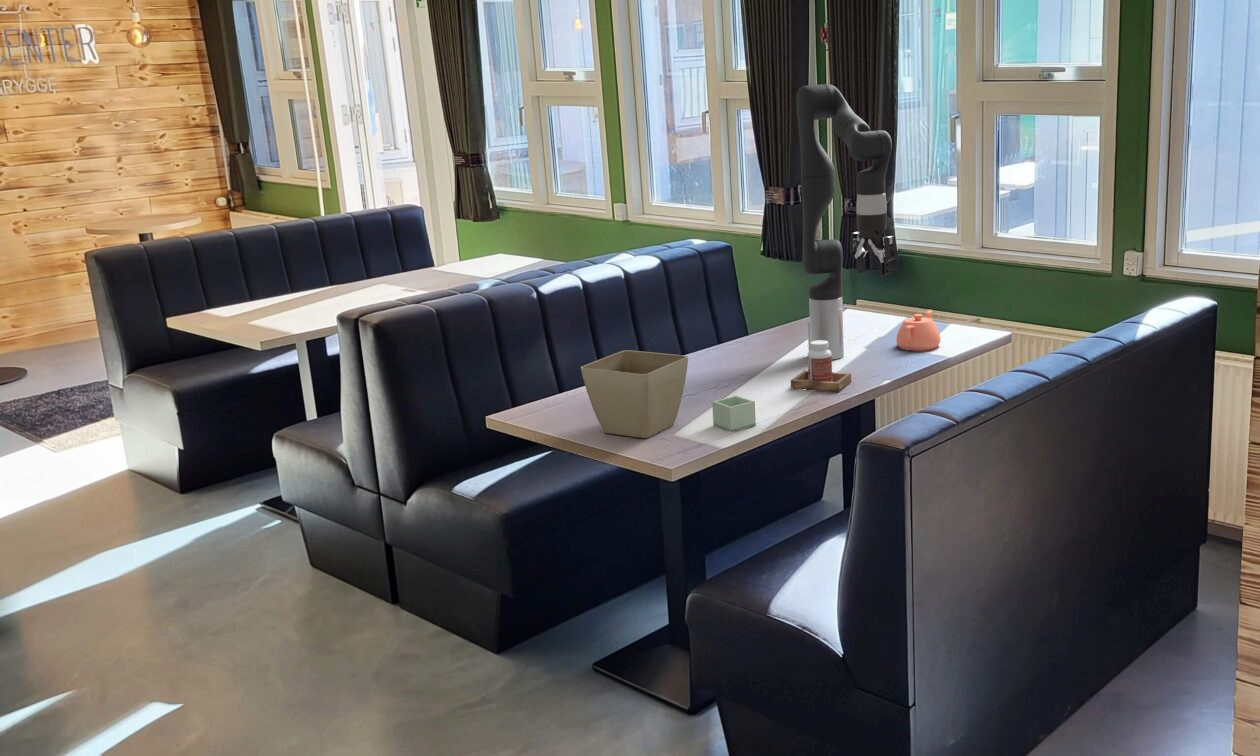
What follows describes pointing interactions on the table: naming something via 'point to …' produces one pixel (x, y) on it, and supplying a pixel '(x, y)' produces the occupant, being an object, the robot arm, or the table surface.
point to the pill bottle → (820, 361)
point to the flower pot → (636, 391)
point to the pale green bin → (734, 413)
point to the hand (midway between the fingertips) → (872, 274)
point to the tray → (821, 382)
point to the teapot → (918, 333)
